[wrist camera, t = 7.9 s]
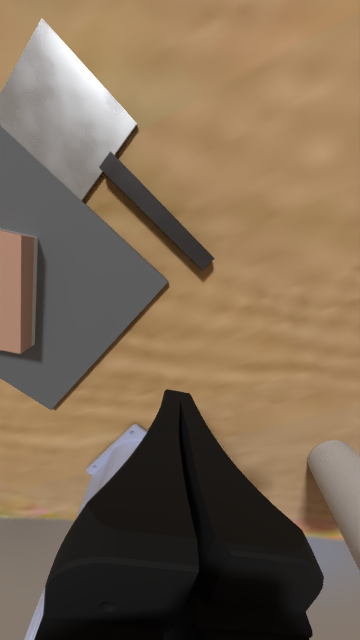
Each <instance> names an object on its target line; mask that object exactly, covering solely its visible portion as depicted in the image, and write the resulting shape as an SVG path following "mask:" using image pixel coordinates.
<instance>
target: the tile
mask: <svg viewBox="0 0 360 640" xmlns="http://www.w3.org/2000/svg"><path fill="white" fill-rule="evenodd" d="M37 252H38V237H34V236H30V235H26V234H21V233H17V232H13V231H9V230H5V229H0V350H3V351H8V352H13V353H19V354H21V353H22V352H24V351H26V350H27V349H29V348H30V347H32V346H33V345H35V321H36V286H37Z"/></svg>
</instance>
